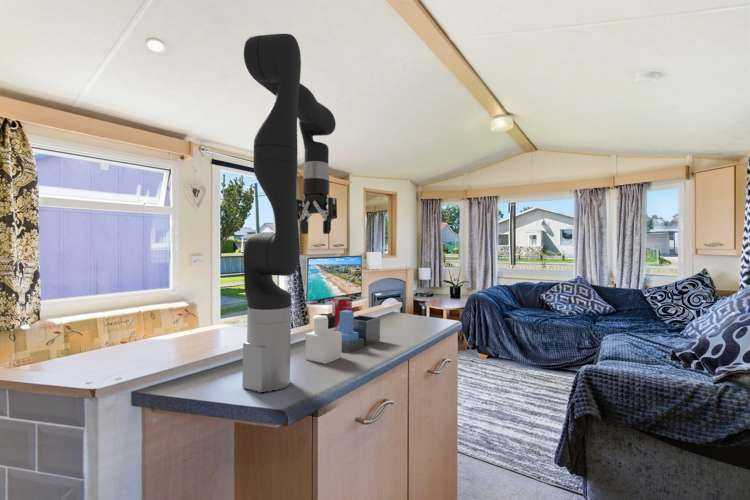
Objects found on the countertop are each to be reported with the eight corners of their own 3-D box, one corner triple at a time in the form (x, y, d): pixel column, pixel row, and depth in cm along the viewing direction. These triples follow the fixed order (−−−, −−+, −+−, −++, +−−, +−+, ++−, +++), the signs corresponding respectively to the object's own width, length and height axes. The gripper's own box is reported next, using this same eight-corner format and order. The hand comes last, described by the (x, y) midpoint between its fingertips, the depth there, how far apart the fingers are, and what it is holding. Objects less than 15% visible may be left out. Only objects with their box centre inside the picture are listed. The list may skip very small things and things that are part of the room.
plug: (347, 347, 113) (348, 313, 113) (334, 344, 116) (334, 311, 116) (358, 343, 117) (358, 311, 117) (344, 341, 120) (345, 309, 120)
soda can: (329, 329, 141) (329, 296, 141) (347, 328, 144) (347, 296, 144) (335, 333, 135) (336, 299, 134) (354, 332, 138) (355, 298, 137)
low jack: (348, 352, 111) (348, 344, 111) (326, 348, 115) (326, 340, 115) (364, 346, 118) (364, 338, 118) (343, 342, 122) (343, 335, 122)
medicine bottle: (321, 353, 110) (322, 311, 110) (341, 357, 106) (342, 314, 106) (304, 359, 104) (305, 315, 104) (325, 364, 100) (326, 318, 100)
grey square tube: (365, 346, 119) (366, 321, 118) (345, 342, 123) (345, 318, 123) (379, 341, 125) (380, 318, 125) (359, 337, 130) (359, 315, 129)
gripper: (289, 178, 115) (288, 233, 115) (326, 174, 107) (325, 233, 107) (307, 182, 121) (306, 234, 121) (343, 179, 114) (342, 234, 114)
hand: (315, 233), depth 114 cm, fingers open, 8 cm apart
